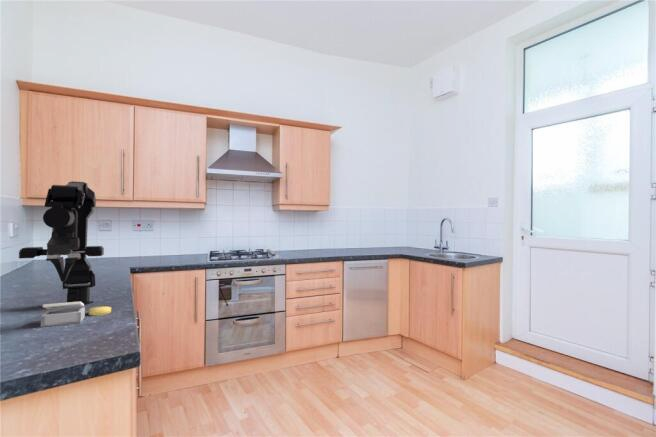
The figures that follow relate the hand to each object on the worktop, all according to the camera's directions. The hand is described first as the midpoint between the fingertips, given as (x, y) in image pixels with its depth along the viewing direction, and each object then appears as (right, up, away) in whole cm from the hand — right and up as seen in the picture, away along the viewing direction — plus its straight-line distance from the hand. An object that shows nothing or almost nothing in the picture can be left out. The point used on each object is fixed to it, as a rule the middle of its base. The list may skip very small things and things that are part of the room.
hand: (63, 281), depth 96 cm
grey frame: (-1, -12, +1) cm, 12 cm away
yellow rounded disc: (+3, -13, +11) cm, 17 cm away
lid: (-1, -8, +2) cm, 8 cm away
